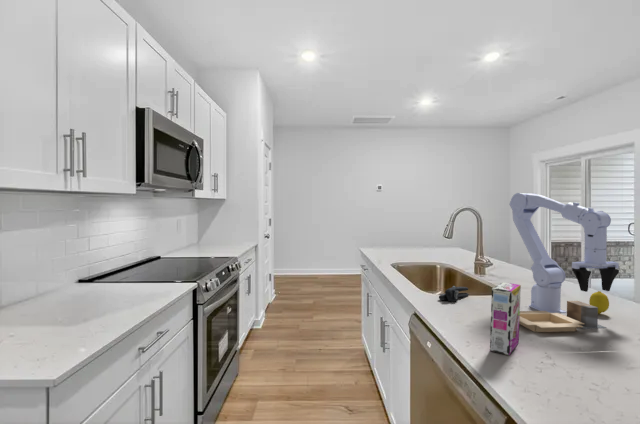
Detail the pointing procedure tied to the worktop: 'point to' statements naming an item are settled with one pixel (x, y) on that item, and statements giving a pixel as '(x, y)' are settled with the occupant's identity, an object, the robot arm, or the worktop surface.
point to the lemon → (599, 301)
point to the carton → (547, 321)
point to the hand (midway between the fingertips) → (595, 290)
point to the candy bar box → (505, 318)
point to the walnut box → (583, 313)
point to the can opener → (453, 293)
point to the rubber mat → (592, 327)
